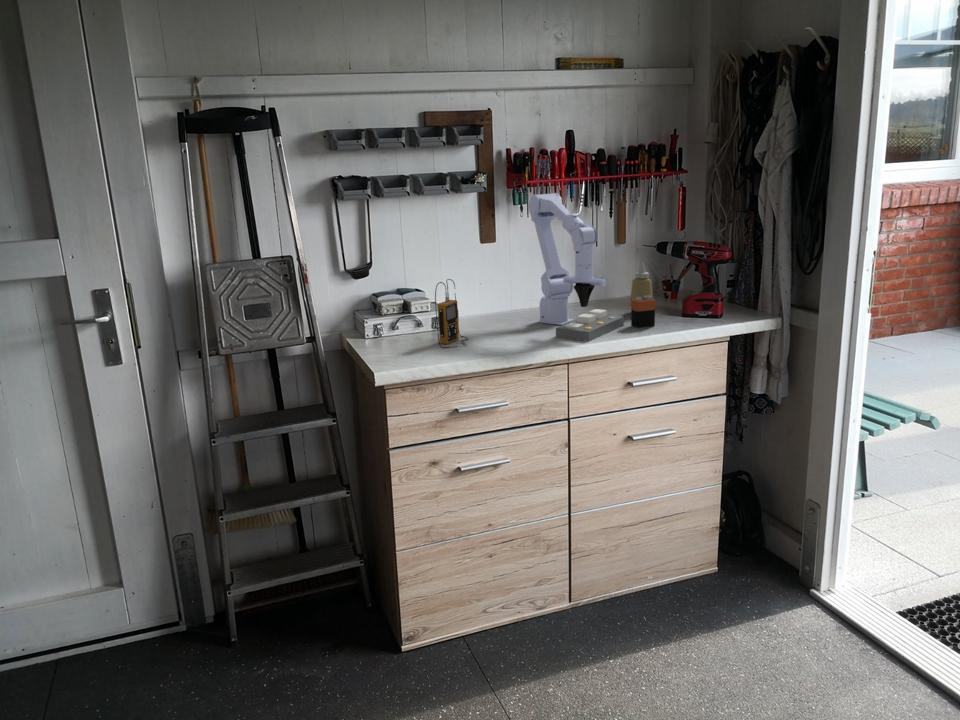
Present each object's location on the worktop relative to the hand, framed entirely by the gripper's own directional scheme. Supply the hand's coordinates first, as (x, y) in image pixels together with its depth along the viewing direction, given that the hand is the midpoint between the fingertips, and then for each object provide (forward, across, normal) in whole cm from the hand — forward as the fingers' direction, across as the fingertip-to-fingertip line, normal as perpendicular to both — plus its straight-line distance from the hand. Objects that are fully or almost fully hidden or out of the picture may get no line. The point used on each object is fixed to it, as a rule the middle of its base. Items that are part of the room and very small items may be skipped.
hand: (584, 306), depth 254 cm
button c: (+6, 0, +9) cm, 11 cm away
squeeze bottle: (+9, +4, +33) cm, 35 cm away
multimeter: (+9, -27, -32) cm, 43 cm away
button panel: (+8, +2, +1) cm, 9 cm away
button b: (+6, 0, +1) cm, 6 cm away
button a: (+8, 0, -7) cm, 10 cm away
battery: (+9, +13, +16) cm, 22 cm away
